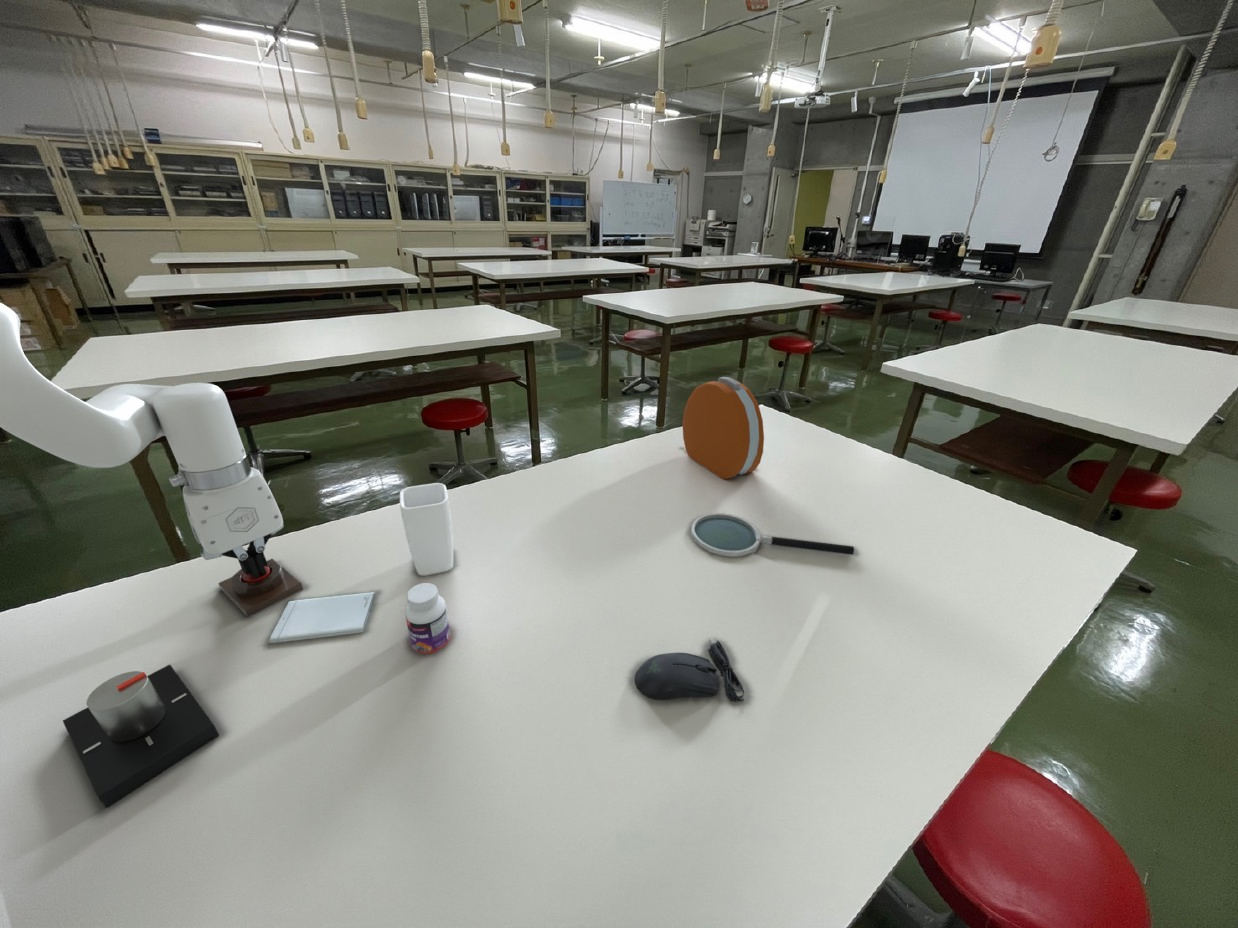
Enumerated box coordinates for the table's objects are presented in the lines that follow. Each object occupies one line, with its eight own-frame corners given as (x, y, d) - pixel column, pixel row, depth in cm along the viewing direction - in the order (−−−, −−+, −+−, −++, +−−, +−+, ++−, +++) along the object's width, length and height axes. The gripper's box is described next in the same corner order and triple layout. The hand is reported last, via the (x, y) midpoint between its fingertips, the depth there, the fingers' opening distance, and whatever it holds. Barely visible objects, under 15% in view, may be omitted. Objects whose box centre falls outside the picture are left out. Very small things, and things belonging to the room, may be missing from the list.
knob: (117, 751, 54) (93, 716, 52) (102, 726, 57) (78, 692, 54) (173, 717, 58) (153, 683, 56) (156, 695, 61) (137, 662, 58)
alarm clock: (764, 477, 122) (781, 389, 112) (733, 486, 118) (749, 396, 107) (707, 443, 139) (717, 363, 129) (678, 449, 135) (687, 368, 124)
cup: (459, 575, 86) (448, 502, 80) (414, 584, 84) (399, 510, 77) (454, 550, 92) (445, 481, 86) (412, 558, 90) (399, 487, 83)
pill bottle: (403, 648, 72) (392, 597, 68) (432, 624, 76) (423, 574, 72) (431, 663, 70) (421, 611, 65) (458, 637, 74) (451, 587, 70)
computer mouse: (626, 657, 72) (627, 638, 70) (721, 645, 75) (725, 626, 73) (641, 720, 63) (643, 700, 62) (748, 704, 66) (753, 685, 64)
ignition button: (241, 582, 79) (238, 574, 78) (266, 571, 82) (263, 562, 81) (251, 592, 78) (248, 583, 77) (276, 580, 80) (273, 571, 79)
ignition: (222, 593, 80) (214, 574, 79) (276, 568, 86) (269, 549, 84) (249, 621, 75) (241, 601, 74) (304, 592, 81) (298, 573, 79)
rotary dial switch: (74, 736, 59) (61, 719, 57) (178, 679, 66) (169, 663, 65) (110, 813, 52) (96, 796, 50) (222, 740, 59) (213, 723, 58)
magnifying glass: (860, 577, 90) (863, 568, 89) (689, 555, 94) (690, 546, 93) (842, 534, 102) (845, 526, 101) (691, 516, 106) (692, 508, 105)
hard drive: (374, 590, 80) (289, 599, 78) (362, 628, 73) (267, 639, 70) (376, 598, 81) (291, 607, 78) (364, 636, 74) (271, 647, 71)
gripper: (161, 502, 63) (211, 610, 72) (287, 460, 74) (317, 558, 83) (141, 483, 67) (191, 588, 75) (264, 446, 78) (295, 541, 86)
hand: (257, 572), depth 79 cm, fingers closed
